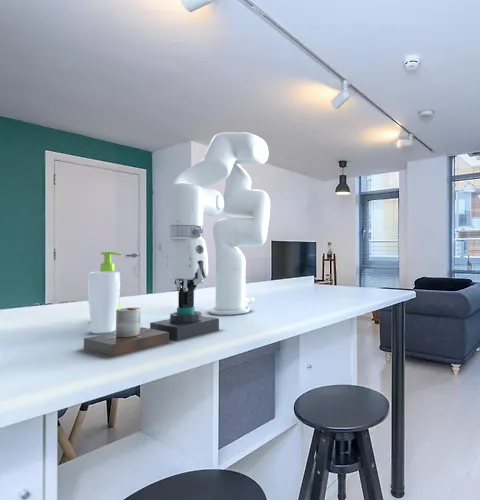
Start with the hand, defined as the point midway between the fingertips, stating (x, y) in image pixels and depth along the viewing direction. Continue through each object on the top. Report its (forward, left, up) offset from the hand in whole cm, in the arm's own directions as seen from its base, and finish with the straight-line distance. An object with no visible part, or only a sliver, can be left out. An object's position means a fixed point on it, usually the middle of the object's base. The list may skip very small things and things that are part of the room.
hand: (186, 306), depth 87 cm
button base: (0, 0, -7) cm, 7 cm away
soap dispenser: (+1, -32, -7) cm, 33 cm away
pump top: (0, 0, -2) cm, 2 cm away
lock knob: (+14, 0, -4) cm, 15 cm away
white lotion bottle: (+9, -19, -7) cm, 22 cm away
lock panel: (+14, 0, -7) cm, 16 cm away
